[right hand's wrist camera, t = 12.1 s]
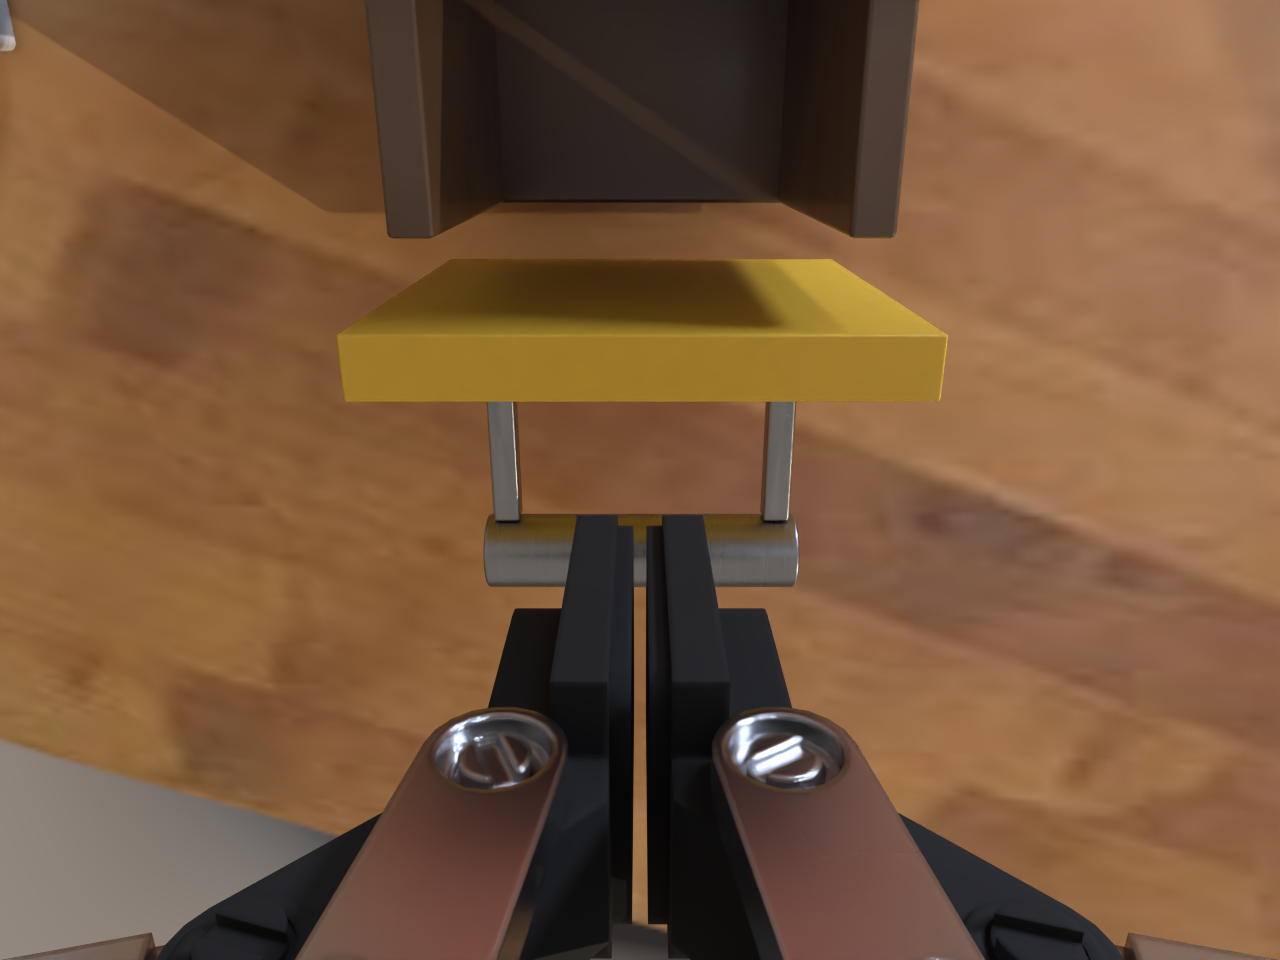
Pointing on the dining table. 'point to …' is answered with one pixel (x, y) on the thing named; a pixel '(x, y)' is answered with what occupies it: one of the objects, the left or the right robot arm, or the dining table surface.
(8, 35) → the hard drive box
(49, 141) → the dining table surface
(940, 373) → the drawer
